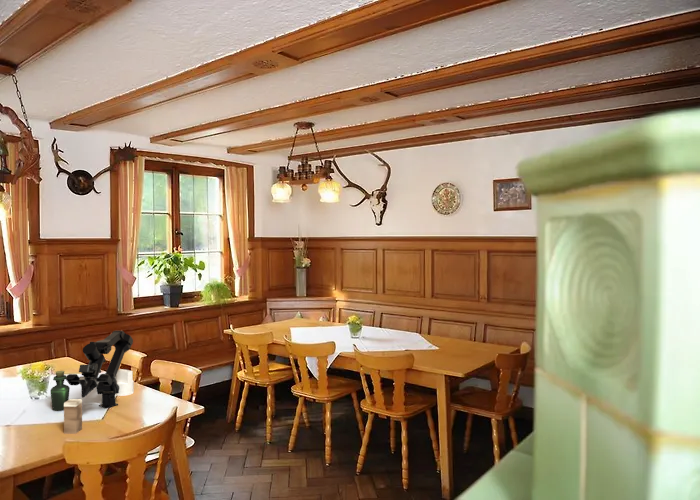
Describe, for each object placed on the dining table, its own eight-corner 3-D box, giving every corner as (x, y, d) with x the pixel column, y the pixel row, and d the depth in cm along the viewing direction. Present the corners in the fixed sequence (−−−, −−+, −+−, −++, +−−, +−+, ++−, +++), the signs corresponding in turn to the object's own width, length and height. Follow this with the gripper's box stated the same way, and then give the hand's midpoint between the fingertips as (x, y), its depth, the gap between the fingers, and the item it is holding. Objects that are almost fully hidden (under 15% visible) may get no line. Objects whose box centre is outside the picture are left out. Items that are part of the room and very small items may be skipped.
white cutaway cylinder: (137, 392, 273) (137, 369, 272) (123, 396, 264) (123, 373, 264) (125, 389, 276) (125, 367, 276) (111, 394, 268) (111, 371, 268)
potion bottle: (53, 407, 248) (52, 370, 247) (71, 405, 250) (71, 369, 250) (48, 412, 240) (47, 374, 239) (67, 411, 242) (67, 373, 242)
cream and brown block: (70, 429, 220) (70, 399, 219) (82, 429, 220) (81, 399, 220) (64, 433, 215) (63, 402, 214) (76, 433, 215) (75, 403, 215)
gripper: (67, 356, 230) (54, 388, 219) (109, 356, 230) (97, 388, 219) (76, 369, 238) (64, 400, 227) (117, 369, 238) (106, 400, 228)
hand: (82, 397), depth 225 cm, fingers closed
